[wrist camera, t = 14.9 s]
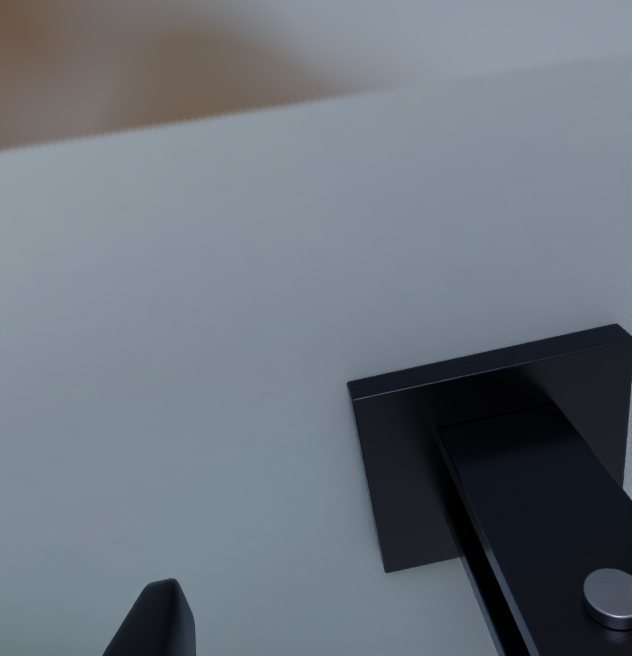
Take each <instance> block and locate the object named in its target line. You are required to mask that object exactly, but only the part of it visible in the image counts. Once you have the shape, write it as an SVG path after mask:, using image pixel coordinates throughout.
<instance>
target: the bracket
mask: <svg viewBox="0 0 632 656" xmlns="http://www.w3.org/2000/svg"><path fill="white" fill-rule="evenodd" d="M631 383H632V336H631V335H630V334H629V333H628V332H627V331H625V330H624V329H623V328H622V327H621V326H620V325H618V324H612V325H607V326H602V327H598V328H593V329H589V330H584V331H579V332H575V333H570V334H566V335H561V336H556V337H552V338H547V339H543V340H538V341H533V342H529V343H524V344H520V345H515V346H510V347H506V348H501V349H497V350H492V351H487V352H483V353H478V354H474V355H469V356H464V357H460V358H455V359H451V360H446V361H441V362H437V363H432V364H428V365H423V366H419V367H414V368H409V369H405V370H400V371H396V372H391V373H386V374H382V375H377V376H373V377H368V378H363V379H359V380H354V381H350V382H348V383H347V387H348V392H349V398H350V403H351V408H352V413H353V418H354V423H355V428H356V433H357V439H358V444H359V449H360V454H361V459H362V464H363V469H364V474H365V480H366V485H367V490H368V495H369V500H370V505H371V510H372V515H373V521H374V526H375V531H376V536H377V541H378V546H379V551H380V555H381V559H382V563H383V567H384V571H385V573H390V572H395V571H399V570H404V569H408V568H413V567H417V566H422V565H427V564H431V563H436V562H440V561H445V560H449V559H454V558H458V557H460V558H461V561H462V563H463V566H464V568H465V571H466V574H467V576H468V579H469V581H470V584H471V586H472V589H473V591H474V594H475V596H476V599H477V601H478V604H479V607H480V609H481V612H482V614H483V617H484V619H485V622H486V624H487V627H488V629H489V632H490V635H491V637H492V640H493V642H494V645H495V647H496V650H497V652H498V655H499V656H632V500H631V499H630V497H629V496H628V495H627V493H626V492H625V491H624V490H623V480H624V468H625V456H626V444H627V432H628V420H629V408H630V395H631Z"/></svg>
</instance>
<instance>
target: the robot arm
mask: <svg viewBox="0 0 632 656" xmlns="http://www.w3.org/2000/svg"><path fill="white" fill-rule="evenodd" d="M102 656H196V639H195V623H194V617H193V614H192V611H191V609H190V607H189V604H188V602H187V600H186V598H185V596H184V593H183V591H182V589H181V587H180V584H179V583H178V581H177V580H176V579H174V578H170V579H165V580H161V581H156V582H152V583H149V584H148V585H147V586H146V587H145V588H144V589H143V591H142V592H141V594H140V595H139V597H138V599H137V600H136V602H135V603H134V605H133V607H132V608H131V610H130V612H129V613H128V615H127V616H126V618H125V620H124V621H123V623H122V624H121V626H120V628H119V629H118V631H117V632H116V634H115V636H114V637H113V639H112V640H111V642H110V644H109V645H108V647H107V649H106V650H105V652H104V653H103V655H102Z"/></svg>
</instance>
